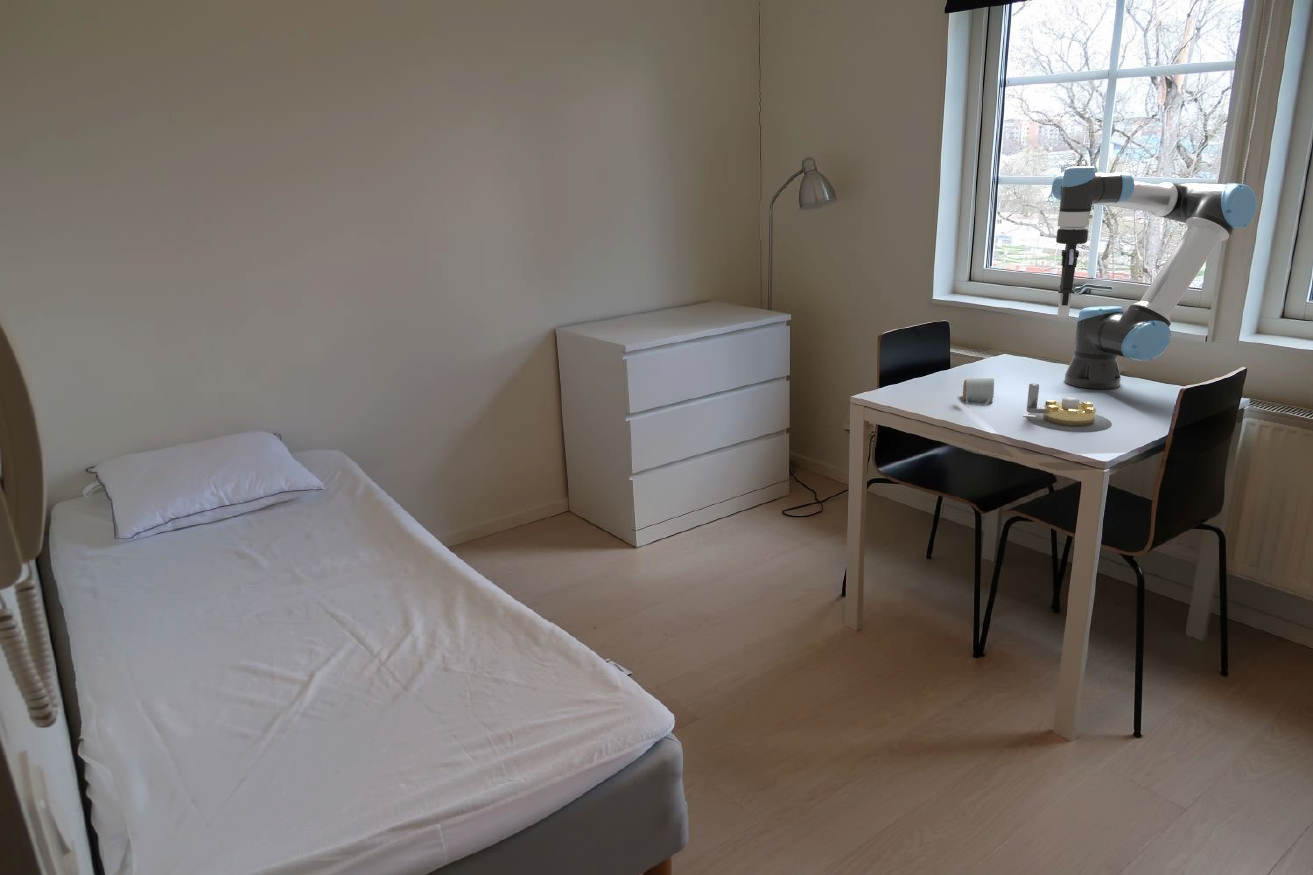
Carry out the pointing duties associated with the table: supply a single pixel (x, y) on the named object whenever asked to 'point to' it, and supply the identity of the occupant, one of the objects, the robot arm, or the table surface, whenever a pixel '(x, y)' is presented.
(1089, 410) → the gold crank wheel
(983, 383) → the ceramic mug
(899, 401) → the table surface
